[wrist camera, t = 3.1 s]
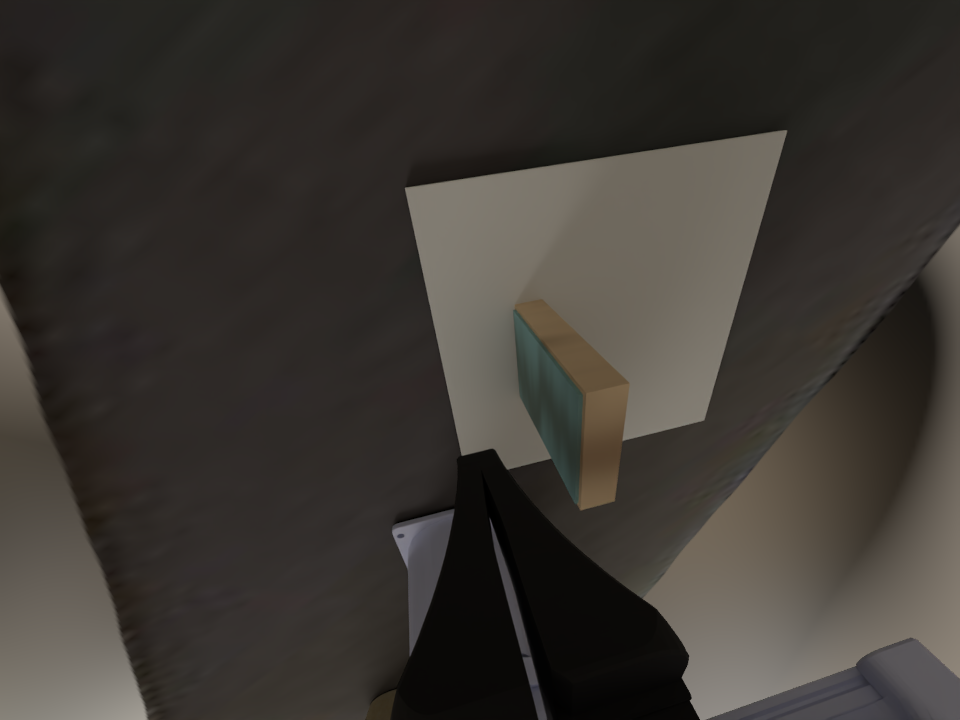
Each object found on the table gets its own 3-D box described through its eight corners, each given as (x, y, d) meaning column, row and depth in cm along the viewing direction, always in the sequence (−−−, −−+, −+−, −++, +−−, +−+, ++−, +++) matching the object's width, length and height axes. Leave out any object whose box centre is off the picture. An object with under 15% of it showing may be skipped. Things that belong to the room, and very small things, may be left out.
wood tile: (544, 391, 21) (614, 501, 14) (518, 397, 21) (576, 511, 14) (542, 299, 18) (629, 383, 11) (511, 305, 18) (581, 394, 11)
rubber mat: (699, 416, 26) (704, 420, 25) (465, 474, 24) (466, 479, 23) (777, 131, 16) (787, 130, 16) (404, 187, 15) (404, 188, 14)
